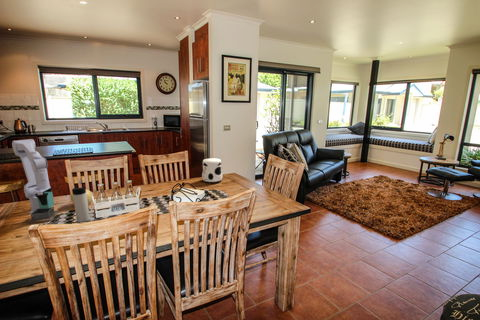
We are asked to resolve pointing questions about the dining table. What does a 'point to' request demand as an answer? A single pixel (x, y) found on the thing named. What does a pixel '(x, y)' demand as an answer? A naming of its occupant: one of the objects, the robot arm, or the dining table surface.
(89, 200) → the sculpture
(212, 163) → the milk container
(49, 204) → the teal rectangular block
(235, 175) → the dining table surface
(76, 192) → the travel mug
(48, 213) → the cup bracket
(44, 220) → the mounting board
